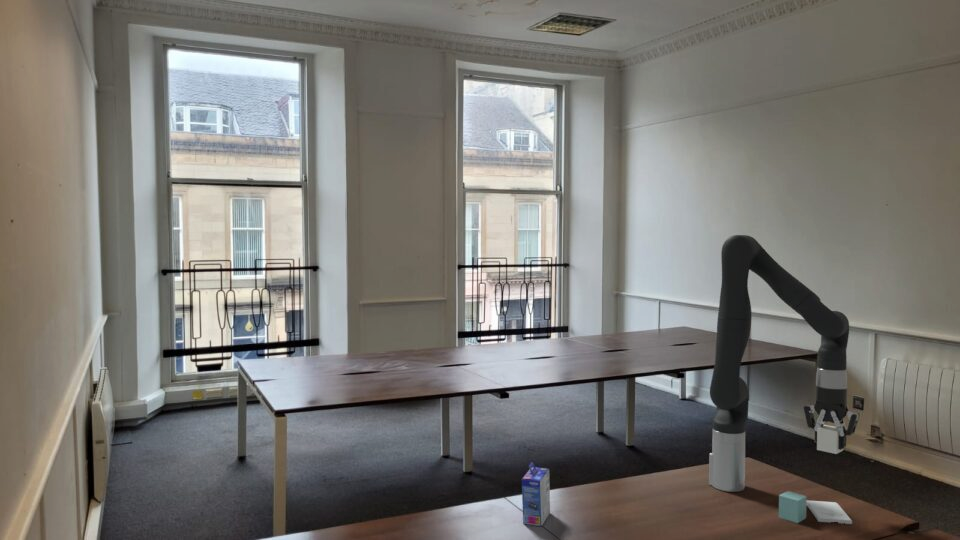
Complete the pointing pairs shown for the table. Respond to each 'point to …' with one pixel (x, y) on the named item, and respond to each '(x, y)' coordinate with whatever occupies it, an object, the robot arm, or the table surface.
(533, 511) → the ink cartridge box
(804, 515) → the teal block
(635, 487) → the table surface
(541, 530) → the table surface
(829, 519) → the external hard drive
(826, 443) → the white block
